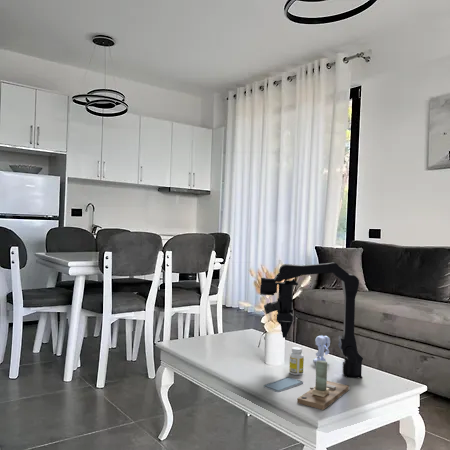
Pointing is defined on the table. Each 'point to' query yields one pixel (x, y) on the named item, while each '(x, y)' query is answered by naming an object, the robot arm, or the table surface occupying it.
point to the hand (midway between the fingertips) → (284, 335)
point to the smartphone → (283, 384)
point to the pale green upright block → (321, 379)
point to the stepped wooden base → (324, 402)
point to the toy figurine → (322, 347)
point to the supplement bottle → (296, 361)
